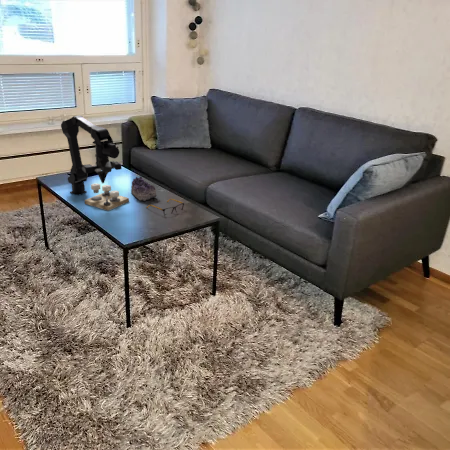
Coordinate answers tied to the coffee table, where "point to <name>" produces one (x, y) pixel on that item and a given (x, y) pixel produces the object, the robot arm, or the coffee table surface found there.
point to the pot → (107, 202)
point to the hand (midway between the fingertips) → (102, 183)
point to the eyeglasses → (170, 207)
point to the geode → (142, 189)
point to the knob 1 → (95, 188)
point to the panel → (101, 198)
